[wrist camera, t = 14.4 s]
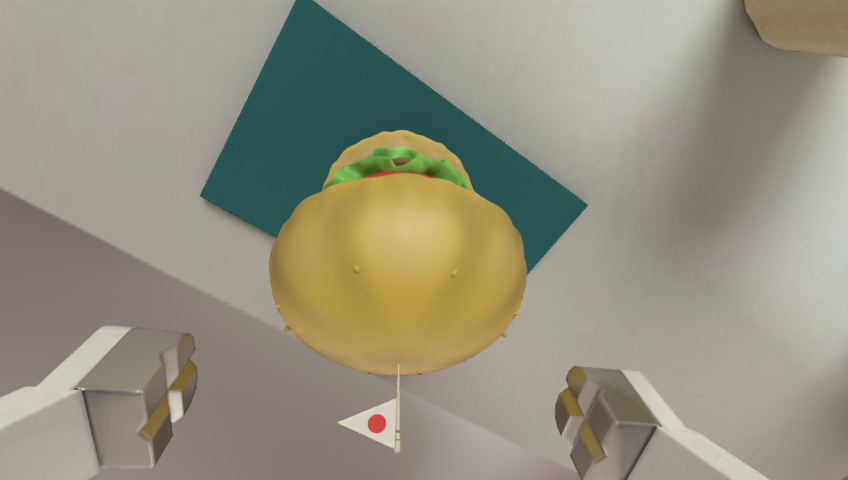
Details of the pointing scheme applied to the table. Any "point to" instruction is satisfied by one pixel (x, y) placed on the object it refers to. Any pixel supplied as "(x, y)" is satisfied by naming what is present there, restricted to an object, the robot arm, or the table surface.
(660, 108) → the table surface
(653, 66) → the table surface
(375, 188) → the hamburger
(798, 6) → the flower pot
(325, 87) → the felt mat
